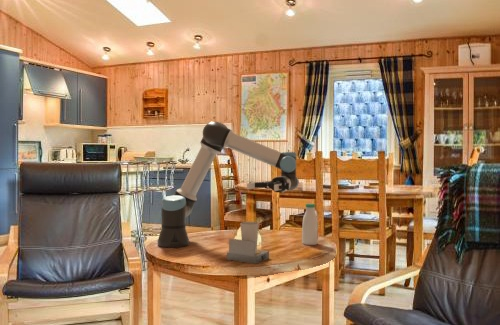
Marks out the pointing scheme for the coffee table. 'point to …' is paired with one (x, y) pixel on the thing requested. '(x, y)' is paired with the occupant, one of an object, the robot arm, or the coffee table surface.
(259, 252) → the grey holder block
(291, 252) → the coffee table surface
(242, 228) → the cup
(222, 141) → the robot arm
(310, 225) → the milk bottle
